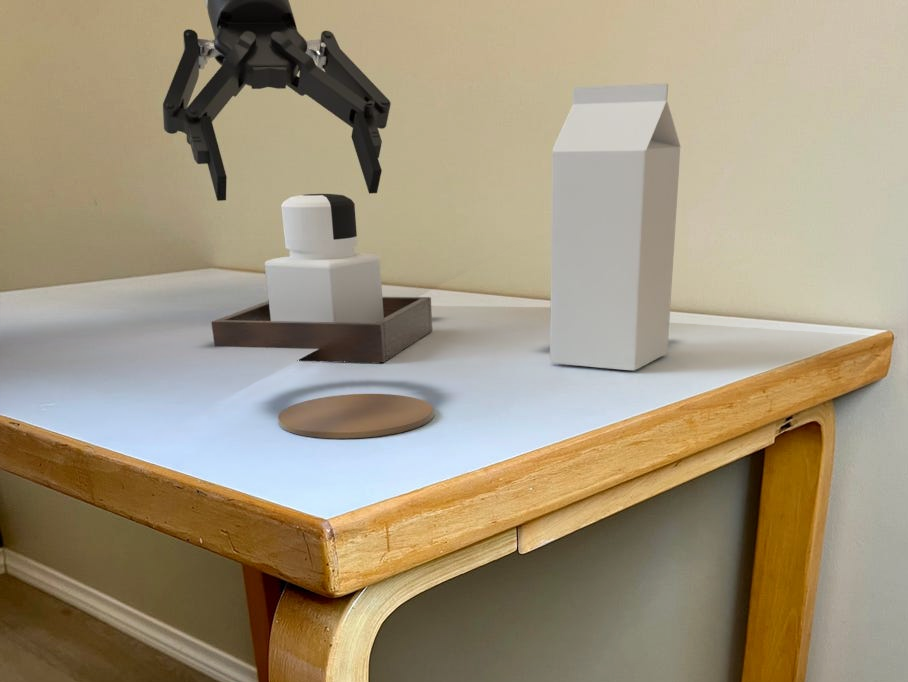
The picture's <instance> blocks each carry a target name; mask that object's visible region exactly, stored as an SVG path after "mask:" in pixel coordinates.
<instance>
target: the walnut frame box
mask: <svg viewBox="0 0 908 682" xmlns="http://www.w3.org/2000/svg"><path fill="white" fill-rule="evenodd" d="M382 299H383V315H384V318H383V319H381V320H379V321H377V322H376V323H352V322H295V321H271V318H270V309H269V300H266V301H264V302H261V303H258V304H256V305H253V306H251V307H247V308H245V309H242V310H239V311H237V312H233V313H231V314H228V315H226V316H223V317H220V318H217V319H215V320H213V321H212V320H211V330H212V337H213V345H214V347H225V348H268V349H308V350H309V349H310V350H311V349H312V350H314V351H312V352H311V353H309V354H307V355H305V356H303V357H301V358H299V359H297V360H296V362H320V361H342V362H341V363H358V362H384V363H385V362H387V361H388V360H390V359H392V358H393V357H395V356H396V355H398V354H399V353H401V352H402V351H404V350H405V349H407V348H409V347H410V346H411V345H413V344H414V343H416V342H418V341H419V340H421V339H422V338H424V337H425V336H427V335H428V334H430V333H431V332H432V331H433V315H432V297H430V296H382ZM409 345H410V346H409ZM406 347H407V348H406ZM404 348H405V349H404ZM403 349H404V350H403ZM401 350H402V351H401ZM400 351H401V352H400ZM398 352H399V353H398ZM395 354H396V355H395ZM392 356H393V357H392ZM389 358H390V359H389ZM298 360H299V361H298ZM386 360H387V361H386ZM344 361H345V362H344Z"/></svg>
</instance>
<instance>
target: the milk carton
mask: <svg viewBox="0 0 908 682" xmlns="http://www.w3.org/2000/svg"><path fill="white" fill-rule="evenodd" d="M668 92H669V83H665V82H664V83H645V84H622V85H599V86H598V85H597V86H579V87H578V86H576V87H573V88H572V105H571V107H570V110H569V112H568V114H567V117H566V118H565V120H564V123H563V125H562V128H561V130H560V132H559V134H558V137H557V139H556V140H555V143H554V145H553V147H552V150H551V228H550V229H551V231H550V232H551V236H550V239H551V240H550V315H549V316H550V317H549V318H550V325H549V340H550V341H549V362H550V364H556V365H557V364H558V365H568V366H578V367H579V366H580V367H589V368H598V369H599V368H600V369H611V370H623V371H636V370H638V369H641V368H642V367H644V366H646V365H648V364H649V363H652V362H653V361H655V360H657V359H659V358H661V357H663V356H665V355H666V354H667V353H668V351H669V350H668V349H669V335H670V334H669V333H670V318H671V317H670V316H671V304H672V303H671V301H672V286H673V272H674V271H673V270H674V257H675V256H674V253H675V242H676V241H675V240H676V239H675V238H676V223H677V208H678V207H677V206H678V194H679V193H678V190H679V178H680V177H679V174H680V158H681V143H680V140H679V137H678V133H677V129H676V126H675V122H674V120H673V119H674V118H673V116H672V113H671V112H672V111H671V108H670V105H669V102H668Z"/></svg>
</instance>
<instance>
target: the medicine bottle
mask: <svg viewBox="0 0 908 682" xmlns="http://www.w3.org/2000/svg"><path fill="white" fill-rule="evenodd" d="M280 207H281V217H282V228H283V229H282V230H283V238H284V247H285V248H284V249H287V250H288V251H289V255H287V256H281V257H275V258H270V259H268V260H266V261H265V262H264V271H265V273H264V274H265V280H266V291H267V299H268V300H267V301H269V309H270V318H271V321H295V322H352V323H376V322H377V321H379V320H381V319H383V318H384V315H383V299H382V297H383V285H382V271H381V270H382V269H381V268H382V267H381V259H380V256H379V255H378V254H375V253H374V254H373V253H360V252H355V248H356V247H358V233H357V219H356V205H355V202H354V201H353V200H352V198H350V197H347V196H345V195H344V194H336V193H306V194H300V195H294V196H290V197H288V198H287V199H285V200H283V202H282V203H281V206H280Z"/></svg>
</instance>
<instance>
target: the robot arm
mask: <svg viewBox="0 0 908 682" xmlns="http://www.w3.org/2000/svg"><path fill="white" fill-rule="evenodd" d="M204 3H205V7H206V9H207V14H208V19H209V22H210V26H211V29H212V32H213V36H214V39H205V38H199V36H198V33H197V32H196V31H195V30H193V29H192V28H191V29H190V28H189V29H185V30H184V31H183V34H182V35H183V53H182V54H181V57H180V60H179V63H178V65H177V67H176V70H175V73H174V75H173V77H172V80H171V82H170V84H169V87H168V90H167V93H166V95H165V98H164V100H163V103H162V117H163V129H164V131H165V132H166V133H167V134H171V135H173V134H174V135H175V134H177V133H178V132H181V133H183V134H185V135H186V142H187V144H188V145H189V146H190V148H191V152H192V157H193V160H194V161H195V163H196V164H197V165H207V167H208V172H209V175H210V179H211V182H212V186H213V190H214V193H215V197H216V201H217V202H222V201H227V178H228V177H227V173H226V169H225V165H224V161H223V158H222V155H221V151H220V147H219V143H218V140H217V136H216V132H215V128H214V125H213V122H214V120H215V119H216V118H217V116H218V115H219V114H220V113H221V112H222V110H223V109H224V108H225V107H226V105H227V104H228V103H229V102H230V100H231V99H232V98H233V97H237V96H238V95H239V93H240V92H241V91H242V90H243V88H244V87H245V86H249V87H251V89H252V90H261V89H265V88H266V89H267V88H271V89H277V90H278V89H279V90H280V89H283V90H284V89H286V88H287V87H288V88H289V89H291V90H292V91H294V92H295V93H296V94H298V95H299V96H300V97H303V96H305V95H306V96H307V97H308V98H310V99H312V101H314V102H316V103H317V104H318V105H320V106H321V107H323V108H324V109H325V110H327V111H328V112H330V113H331V114H333V115H334V116H335V117H336V118H337V119H340V120H341V121H342V122H343V123H345V124H346V125H348V126H349V127H351V128H352V129H351V136H350V137H351V140H352V144H353V147H354V150H355V154H356V156H357V159H358V163H359V167H360V169H361V173H362V175H363V178H364V182H365V185H366V188H367V191H368V194H369V195H371V194H378V191H379V186H380V181H381V176H382V167H381V163H380V161H379V158H380V154H381V148H382V143H383V141H382V138H381V133H380V131H379V129H380V130H383V129H385V128H386V127H387V125H388V120H389V115H390V110H391V104H392V103H391V101H390V99H389V98H387V96H386V95H385V94H384V92H382V91H381V89H379V88H378V87H377V86H376V85H375V84H374V82H372V80H371V79H370V78H369V77H368V76H367V75H366V74H365V73H364V72H363V71H362V70H361V69H360V68H359V67H358V66H357V65H356V64H355V63H354V62H353V60H351V59H350V57H349V56H348V55H347V54H346V53H345V52H344V51H343V50H342V49H341V47H340V46H339V43H338V41H337V39H336V37H335V35H334V33H333V32H332V31H330V30H323V31H322V32H321V34H320V39H311V40H310V39H309V40H306V39H305V38H304V36H302V35H301V34H300V32H299V30H298V28H297V24H296V20H295V17H294V13H293V10H292V6H291V3H290V0H204ZM211 58H214V60H215V61H216V62H217V63H218V64H219V65H220V67H219V68H218V70H216V72H215V73H214V75H213V76H212V77H211V78H210V79H209V80H208V82H207V83H206V84H205V85H204V86H203V88H202V89H201V90H200V92H199V93H198V94H197V95H196V96H195V97H194V98H193V100H192V101H191V98H192V96H193V93H194V90H195V87H196V85H197V83H198V80H199V76H200V70H203V69H205V65H207V64H208V62H209V60H210V59H211ZM316 63H317V65H316ZM298 74H299V76H298ZM190 101H191V102H190Z"/></svg>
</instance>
